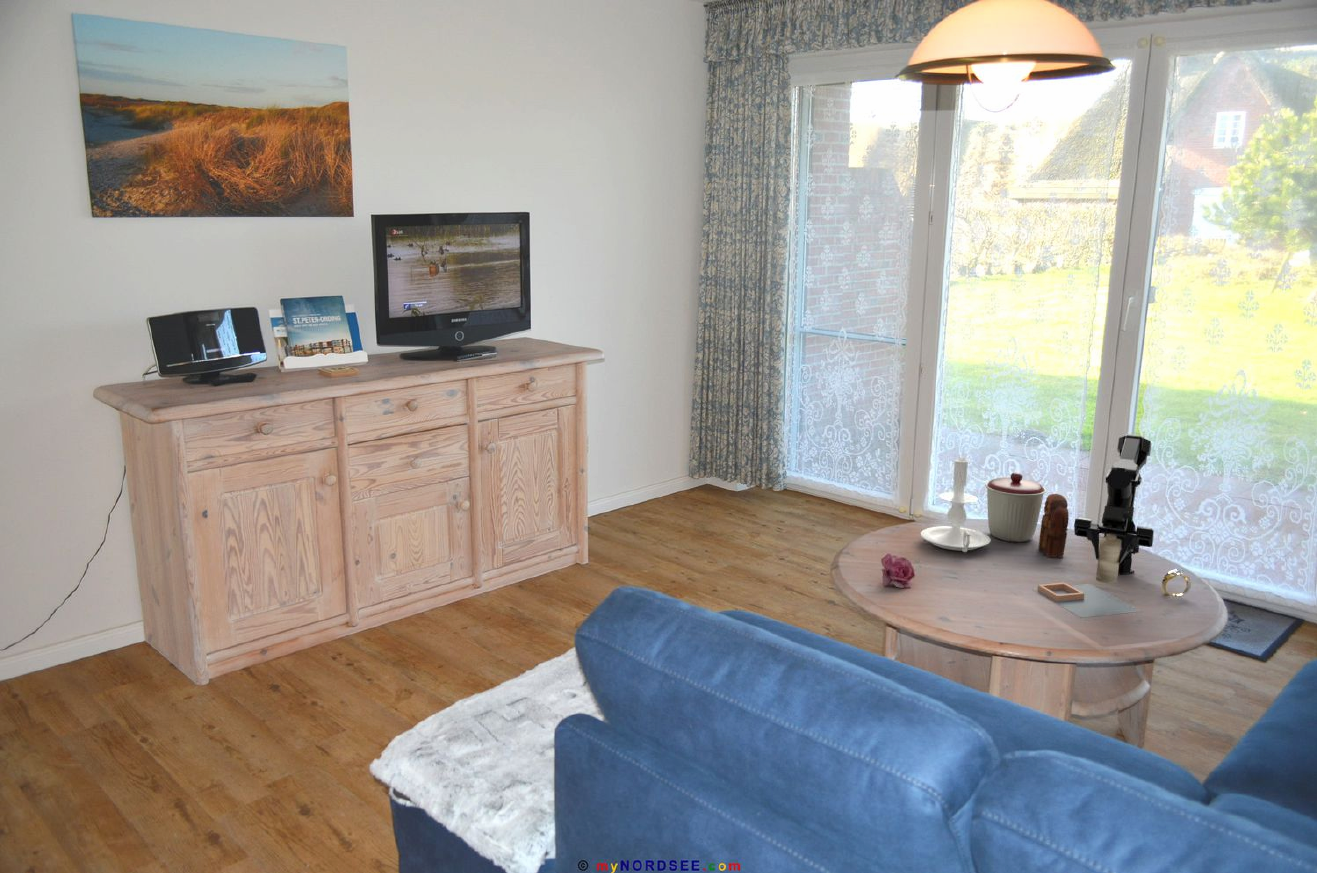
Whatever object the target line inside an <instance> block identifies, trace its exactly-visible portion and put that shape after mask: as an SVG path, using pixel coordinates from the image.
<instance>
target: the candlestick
mask: <svg viewBox="0 0 1317 873" xmlns="http://www.w3.org/2000/svg"><path fill="white" fill-rule="evenodd" d="M968 461H969V460H968V458H965V457H960V458H958V459H954V468H953V478H952V479H953V482H952V483H953V486H952V491H953V492H951V491H949V492H943V493H939V495H938V498H940V499H942V500H944V501H946V502H949V503H951V507H950V508H949V509H948V511H947V514H946V516H947V521H948V522H949V524H950V525H952V526H950V525H948V526H946V525H945V526H943V525H941V526H932V527H928V528H924V529H923V530H921V531H920V536H921V538H923V539H924V540H926V541H928V542H929V543H930V544H932V545H934V546H936V547H938V548H942V549H946V550H950V551H959V552H960V551H962V552H963V553H967V552H968V551H973V550H976V549H979V548H981V547H984V546H987V545H989V544H990V543H991V541H992V540H991V538H990V536H988V535H987V534H985V533H984V532H981V531H978V530H976V529H975V530H974V529H972V528H968V527H967V528H966V527H962V525H964V523H965V522H966V520H967V518H968V516H967V512H966V509H965V507H964V505H965V504H968V503H975V502H977V501H979V498H978V497H977V496H975V495H973V494H969V493H965V487H966V486H967V475H968Z"/></svg>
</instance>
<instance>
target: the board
mask: <svg viewBox="0 0 1317 873" xmlns="http://www.w3.org/2000/svg"><path fill="white" fill-rule="evenodd" d="M1032 591H1034V592H1036V593H1038V594H1040V595H1041V596H1043V597H1044V598H1046V599H1048V600H1050V601H1052V602H1053V603H1055V604H1057V605H1058V606H1059V607H1062V608H1063V609H1065V610H1067V611H1069V612H1070V613H1072V614H1073V615H1075V616H1078V617H1079V618H1080V619H1083V618H1096V617H1103V616H1111V615H1112V616H1113V615H1114V616H1115V615H1123V614H1124V615H1125V614H1133V613H1142V612H1143V611H1142V610H1141V609H1138V608H1137V607H1135V606H1133V605H1132V604H1129V603H1127V602H1125V601H1123V600H1121V598H1120V599H1119V598H1117V597H1116V596H1114V595H1112V594H1109V593H1108V592H1106V591H1104V590H1103V589H1101V588H1099V587H1096V586H1095V585H1093V584H1091V583H1085V584H1076V585H1075V584H1074V585H1070V584H1068V583H1066V582H1058V583H1057V582H1056V583H1047V584H1046V583H1045V584H1038V585H1037V588H1033V589H1032Z"/></svg>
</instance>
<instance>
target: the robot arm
mask: <svg viewBox="0 0 1317 873" xmlns="http://www.w3.org/2000/svg"><path fill="white" fill-rule="evenodd" d="M1151 442H1152V441H1151V440H1148V439H1146V438H1144V436H1142V435H1141V434H1140V435H1139V434H1131V433H1127V434H1124V435H1123V436H1121V437H1119V438H1118V442H1117V449H1116V450H1117V453H1118V454H1119V459H1118V460H1117V461H1115V462H1113V463H1112V466H1111V468H1110V469H1108V472H1107V474H1106V476H1105V483H1106V489H1107V490H1106V491H1107V500H1106V505H1105V506H1104V510H1103V514H1102V517H1101V518H1102V519H1101V524H1102V525H1100V524H1098V523H1093V520H1092V519H1091V518H1084V517H1077V518H1075V519H1074V524H1073V529H1074V531H1073V532H1074V535H1075V536H1076V537H1083V538H1086V539H1087V541H1090V542H1091V544H1092V547H1093V550H1094V556H1095V560H1097V561H1098V556H1099V547H1100V534H1101V535H1102V534H1103V537H1106V534H1114V535H1116V536H1117V537H1116V538H1118V539H1120V540H1121V541H1122V543H1121V551H1120V556H1119V569H1118V575H1122V574H1132V573H1133V574H1134V573H1135V570H1134V569H1132V564H1133V563H1132V562H1133V561H1132V560H1133V557H1132V556H1133V555H1136V554H1138V553H1140V547H1147V548H1151V547H1153V543H1154V536H1155V535H1154V534H1155V533H1154V532H1155V531H1154V529H1153V528H1151V527H1146V526H1140V525H1139V526H1138V525H1135V522H1134V519H1133V518H1134V512H1135V507H1134V506H1135V500H1136V499H1135V498H1136V493H1137V487H1139V486H1140V485H1141V483H1142V481H1143V478H1142V477H1141V473H1140V470H1141V469H1142V468H1143V467H1145V465H1146V464H1147V461H1148V460H1147V459H1148V457H1151V450H1152V443H1151Z"/></svg>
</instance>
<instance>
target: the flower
mask: <svg viewBox="0 0 1317 873" xmlns="http://www.w3.org/2000/svg"><path fill="white" fill-rule="evenodd" d="M880 562H881V565H882V567H883V568H881V571H882V585H883V587H887V586H889V585H890V584H893V585H894V586H895V587H897V588H900V589H902V588H903V589H904V588H912V585H911V584H910V581H911V580H912V579H914V578H915V577H916V574H915V569H914V566H913V565H912V562H911V561H910V560H909V559H907V558H906V557H899V556H897V555H892V553H886V554H885V556H883V557H882V558H881V559H880Z"/></svg>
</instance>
